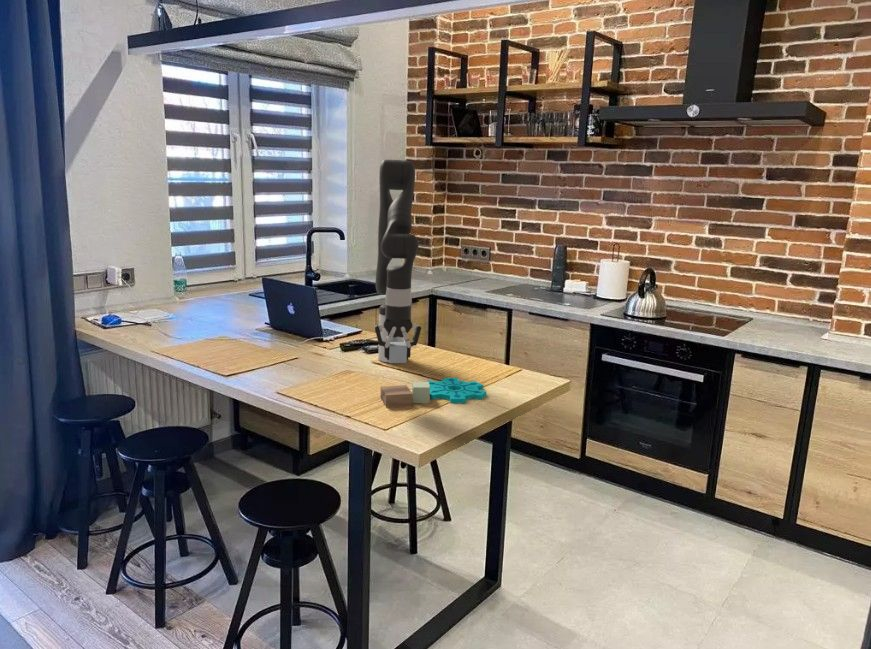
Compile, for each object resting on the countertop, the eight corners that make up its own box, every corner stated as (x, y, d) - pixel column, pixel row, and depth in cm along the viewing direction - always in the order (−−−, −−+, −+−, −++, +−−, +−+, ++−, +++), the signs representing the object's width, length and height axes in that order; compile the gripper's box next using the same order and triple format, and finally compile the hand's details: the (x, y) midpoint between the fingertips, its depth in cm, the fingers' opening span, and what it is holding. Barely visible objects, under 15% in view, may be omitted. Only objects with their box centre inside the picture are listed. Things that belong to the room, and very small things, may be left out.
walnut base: (380, 399, 200) (380, 386, 199) (405, 397, 202) (406, 385, 201) (385, 408, 192) (386, 395, 191) (412, 406, 194) (412, 393, 193)
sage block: (428, 397, 202) (411, 397, 201) (428, 382, 201) (412, 381, 200) (429, 403, 197) (412, 403, 196) (430, 387, 196) (413, 387, 195)
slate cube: (388, 358, 196) (388, 342, 195) (404, 358, 197) (405, 341, 195) (389, 363, 191) (389, 346, 190) (406, 362, 192) (406, 346, 191)
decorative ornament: (490, 404, 199) (479, 382, 218) (490, 399, 198) (480, 378, 218) (425, 403, 197) (420, 382, 216) (425, 398, 197) (421, 377, 216)
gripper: (421, 300, 195) (419, 355, 198) (373, 300, 192) (372, 355, 196) (424, 305, 187) (422, 362, 191) (374, 305, 185) (373, 363, 189)
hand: (397, 358), depth 194 cm, fingers closed on slate cube, 5 cm apart
